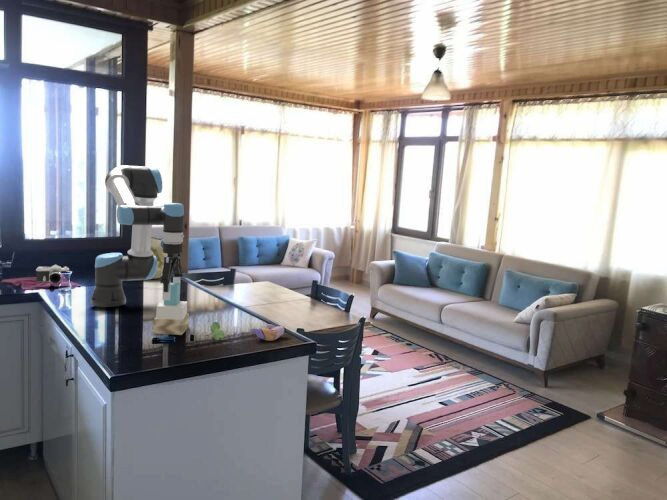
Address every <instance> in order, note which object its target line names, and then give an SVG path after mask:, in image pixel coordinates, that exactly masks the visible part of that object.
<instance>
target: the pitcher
mask: <svg viewBox="0 0 667 500" xmlns="http://www.w3.org/2000/svg"><path fill="white" fill-rule="evenodd" d="M162 242H163V237H161V238H157V237H153V236H151V248H150V249H151V251H152V252H153V255H154V256H156V258H157V269H156V273H155V275H154V277H153V278H152V279H151V280H153V279H154V280H156V279H160V278H162V272H163V266H164V258H165V257H167V255H168V254H167V253H163V246H162Z"/></svg>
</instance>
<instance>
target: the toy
mask: <svg viewBox="0 0 667 500" xmlns="http://www.w3.org/2000/svg"><path fill="white" fill-rule="evenodd" d="M266 326H267V327H260V328H253V327H251V328H250V331H252V332H253V333H255V335H256V336H257V337H258V338H259V339H261V340H263V341H268V342H269V341H270V342H271V341H272V342H273V341H275V340H278V339H279V338H280V337H281V336H283V335H284V334H285V333H286V332H287V329H286V328H285V326H284V325H278V326H276V325H274V324H272V323H271V324H270V323H269V324H266Z"/></svg>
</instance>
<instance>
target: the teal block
mask: <svg viewBox="0 0 667 500" xmlns="http://www.w3.org/2000/svg"><path fill="white" fill-rule="evenodd" d="M170 283H171V290H170V300H163V301H164V305H176V306H177V305H178V304H179V303H180V301H181V300H180V299H181V298H180V297H181V296H180V295H181V282H180V283H173V282H170Z"/></svg>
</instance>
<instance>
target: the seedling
mask: <svg viewBox="0 0 667 500" xmlns="http://www.w3.org/2000/svg"><path fill="white" fill-rule="evenodd" d="M209 330H210V334H206V335H204V337H208V336H211V335H212V337H213V339H215V340H216V341H219V340H220V339H223V338H225V335H226V333H225V332H224V330H222V329H221V325H220V324H219V322H218V321H214V322H213V323H212V325H210V329H209Z"/></svg>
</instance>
